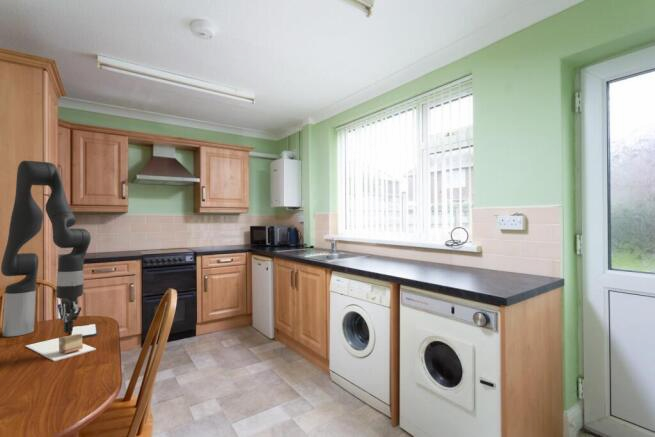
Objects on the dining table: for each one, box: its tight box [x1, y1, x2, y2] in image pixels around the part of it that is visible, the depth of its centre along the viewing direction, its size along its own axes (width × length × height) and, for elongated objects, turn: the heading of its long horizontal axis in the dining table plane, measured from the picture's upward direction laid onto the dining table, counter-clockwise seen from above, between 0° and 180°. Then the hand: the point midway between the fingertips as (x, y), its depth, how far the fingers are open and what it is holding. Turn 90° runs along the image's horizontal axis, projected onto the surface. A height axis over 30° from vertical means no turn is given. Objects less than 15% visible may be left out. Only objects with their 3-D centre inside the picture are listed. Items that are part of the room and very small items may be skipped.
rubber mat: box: [25, 337, 97, 362], centre depth 114 cm, size 25×12×1 cm, turn 60°
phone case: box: [70, 323, 98, 339], centre depth 132 cm, size 9×2×16 cm
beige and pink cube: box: [58, 334, 84, 353], centre depth 110 cm, size 5×5×5 cm
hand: (68, 331), depth 112 cm, fingers closed
